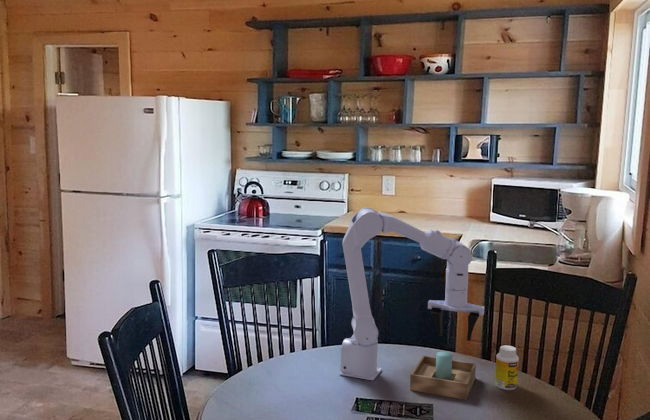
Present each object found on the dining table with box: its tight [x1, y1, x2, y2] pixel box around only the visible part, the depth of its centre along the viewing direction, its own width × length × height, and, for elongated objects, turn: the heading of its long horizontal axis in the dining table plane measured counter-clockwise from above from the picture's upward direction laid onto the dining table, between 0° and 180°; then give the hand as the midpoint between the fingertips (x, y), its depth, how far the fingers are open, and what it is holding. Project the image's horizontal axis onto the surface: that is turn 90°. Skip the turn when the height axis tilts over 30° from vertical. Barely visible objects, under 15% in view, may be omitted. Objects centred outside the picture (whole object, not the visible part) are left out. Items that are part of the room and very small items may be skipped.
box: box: [409, 355, 477, 401], centre depth 152 cm, size 14×14×4 cm
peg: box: [435, 351, 453, 381], centre depth 152 cm, size 4×4×8 cm
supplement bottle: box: [494, 345, 520, 391], centre depth 151 cm, size 6×6×10 cm
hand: (454, 337), depth 158 cm, fingers open, 7 cm apart
